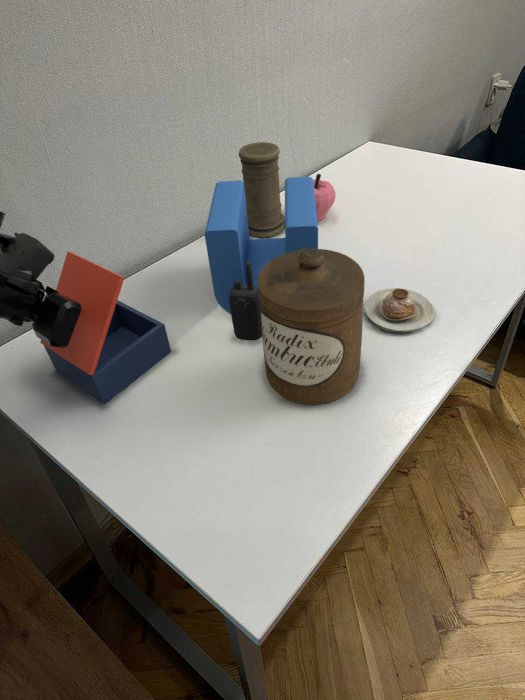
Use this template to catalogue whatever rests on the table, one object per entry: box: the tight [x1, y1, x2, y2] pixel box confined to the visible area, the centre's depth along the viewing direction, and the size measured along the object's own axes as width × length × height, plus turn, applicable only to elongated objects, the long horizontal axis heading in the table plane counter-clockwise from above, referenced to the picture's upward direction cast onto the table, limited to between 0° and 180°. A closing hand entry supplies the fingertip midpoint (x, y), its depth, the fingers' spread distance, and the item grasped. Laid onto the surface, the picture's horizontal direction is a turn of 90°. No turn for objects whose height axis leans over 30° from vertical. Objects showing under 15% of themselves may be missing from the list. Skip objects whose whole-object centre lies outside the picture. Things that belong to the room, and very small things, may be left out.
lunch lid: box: [39, 251, 125, 375], centre depth 76 cm, size 15×13×1 cm
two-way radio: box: [229, 262, 263, 342], centre depth 83 cm, size 6×4×15 cm
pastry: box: [364, 287, 435, 334], centre depth 88 cm, size 12×12×5 cm
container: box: [238, 141, 285, 239], centre depth 109 cm, size 9×9×18 cm
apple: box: [313, 173, 337, 222], centre depth 114 cm, size 10×9×10 cm
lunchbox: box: [43, 300, 172, 406], centre depth 83 cm, size 15×13×6 cm
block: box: [204, 176, 319, 315], centre depth 92 cm, size 18×18×18 cm
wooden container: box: [258, 248, 366, 405], centre depth 73 cm, size 15×15×22 cm
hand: (76, 313), depth 75 cm, fingers closed, pressing on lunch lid
